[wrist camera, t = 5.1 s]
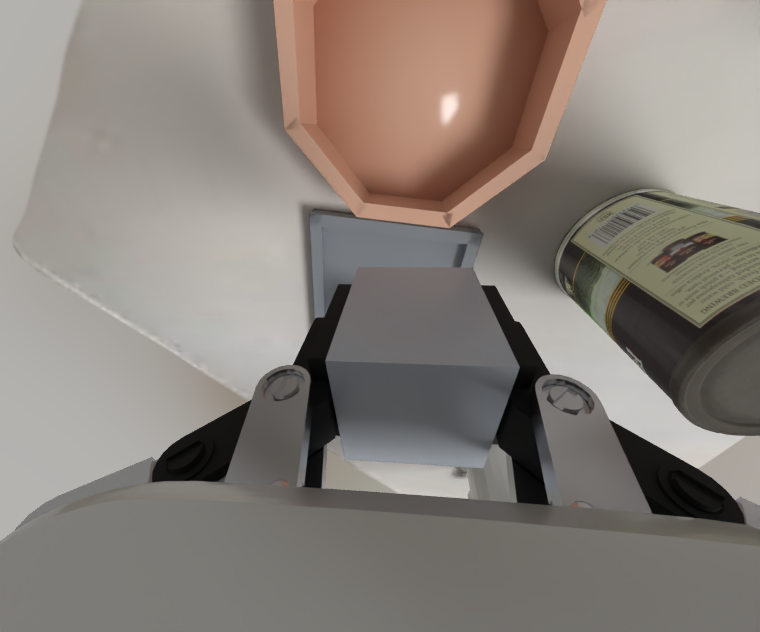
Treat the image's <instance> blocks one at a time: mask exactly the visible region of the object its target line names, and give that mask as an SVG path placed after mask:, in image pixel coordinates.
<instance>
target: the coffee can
mask: <svg viewBox="0 0 760 632" xmlns="http://www.w3.org/2000/svg"><path fill="white" fill-rule="evenodd" d="M555 277H556V281H557V283H558V285H559V287H560V288H561V289H562V291H563V292H564V293H565V294H567V295H568V296H569V297H571V298H572V299H573V300H574V301H575V302H576V303H577V304H578V305H579V306H580V307H581V308H582V309H583V310H584V311H585V312H586V313H587V314H588V315H589V316H590V317H591V318H592V319H593V320H594V321H595V322H596V323H597V324H598V325H599V326H600V327H601V328H602V329H603V330H604V331H605V332H606V333H607V334H608V335H609V336H610V337H611V338H612V339H613V340H614V341H615V342H616V343H617V344H618V345H619V346H620V348H621V349H622V350H623V351H624V352H625V353H626V354H627V355H628V356H629V357H630V358H631V359H632V360H633V361H634V362H635V363H636V364H637V365H638V366H639V367H640V368H641V369H642V370H643V371H644V372H645V373H646V374H647V375H648V376H649V377H650V378H651V379H652V380H653V381H654V382H655V383H656V384H657V385H658V386H659V387H660V388H661V389H662V390H663V391H664V392H665V393H666V394H667V395H668V396H669V397H670V398H671V399H672V401H673V403H674V405H675V406H676V408H677V409H678V410H679V411H680V412H681V414H682V415H683V416H684V417H685V418H686V419H687V420H689V421H690V422H691V423H693V424H694V425H696V426H698V427H701V428H703V429H706V430H709V431H712V432H716V433H723V434H728V435H739V436H760V213H757V212H753V211H748V210H743V209H739V208H735V207H730V206H726V205H721V204H717V203H713V202H708V201H704V200H699V199H695V198H691V197H686V196H682V195H678V194H676V193H674V192H671V191H668V190H661V189H640V190H634V191H630V192H627V193H624V194H621V195H618V196H616V197H613V198H611V199H609V200H607V201H605V202H604V203H602V204H600V205H599V206H597V207H595V208H594V209H593V210H591V211H590V212H589V213H587V214H586V215H585V216H584V217H583V218H581V219H580V220H579V221H578V222H577V223H576V224H575V225H574V227H573V228H572V229H571V230H570V232H569V233H568V234H567V235H566V237H565V238H564V240H563V242H562V244H561V246H560V248H559V250H558V253H557V256H556V260H555Z"/></svg>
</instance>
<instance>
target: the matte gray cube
mask: <svg viewBox="0 0 760 632" xmlns="http://www.w3.org/2000/svg"><path fill="white" fill-rule="evenodd" d="M325 362H326V367H327V372H328V377H329V382H330V387H331V392H332V397H333V402H334V407H335V412H336V418H337V423H338V428H339V433H340V438H341V443H342V448H343V453H344V458H345V459H347V460H362V461H378V462H393V463H409V464H424V465H440V466H455V467H471V468H484V465H485V462H486V460H487V457H488V454H489V451H490V449H491V446H492V443H493V440H494V437H495V435H496V432H497V429H498V426H499V424H500V421H501V418H502V415H503V413H504V410H505V407H506V404H507V402H508V399H509V396H510V393H511V390H512V388H513V385H514V382H515V379H516V377H517V374H518V371H519V368H520V367H519V365H518V363H517V360H516V358H515V356H514V354H513V352H512V350H511V348H510V346H509V344H508V342H507V339H506V337H505V335H504V333H503V331H502V329H501V327H500V325H499V323H498V320H497V318H496V316H495V314H494V312H493V310H492V308H491V306H490V304H489V302H488V299H487V297H486V295H485V293H484V291H483V289H482V287H481V285H480V283H479V280H478V278H477V276H476V274H475V272H474V270H473V268H461V267H358V269H357V272H356V274H355V277H354V280H353V283H352V286H351V289H350V292H349V294H348V297H347V300H346V303H345V306H344V309H343V312H342V314H341V317H340V320H339V323H338V326H337V329H336V332H335V334H334V337H333V340H332V343H331V346H330V349H329V352H328V354H327V357H326V360H325Z"/></svg>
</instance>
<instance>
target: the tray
mask: <svg viewBox="0 0 760 632" xmlns="http://www.w3.org/2000/svg"><path fill="white" fill-rule="evenodd" d="M309 216H310V236H311V255H312V275H313V294H314V314H315V318H317V317H324V316H325V314H326V312H327V310H328V307H329V305H330V303H331V300H332V298H333V296H334V293H335V291H336V289H337V286H338V284H352V283H353V280H354V277H355V274H356V272H357V269H358V267H461V268H473V265H474V262H475V259H476V255H477V252H478V249H479V246H480V243H481V239H482V236H483V233H482V232H481V231H480V229H474V228H466V227H458V226H452V227H451V228H444V227H436V226H427V225H419V224H411V223H403V222H394V221H386V220H378V219H370V218H361V217H356V215H355V214H350V213H342V212H334V211H325V210H317V209H314V210H313V211H311V212H310V213H309Z"/></svg>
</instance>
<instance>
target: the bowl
mask: <svg viewBox="0 0 760 632" xmlns="http://www.w3.org/2000/svg"><path fill="white" fill-rule="evenodd" d="M606 1H607V0H273V3H274V14H275V26H276V37H277V49H278V60H279V72H280V83H281V95H282V106H283V118H284V129H285V131H286V132H287V133H288V134H289V136H290V137H291V138H292V139H293V140H294V142H295V143H296V144H297V145H298V146H299V148H300V149H301V150H302V151H303V152H304V154H305V155H306V156H307V157H308V159H309V160H310V161H311V162H312V163H313V165H314V166H315V167H316V168H317V169H318V171H319V172H320V173H321V174H322V176H323V177H324V178H325V179H326V180H327V182H328V183H329V184H330V185H331V186H332V188H333V189H334V190H335V191H336V192H337V194H338V195H339V196H340V197H341V199H342V200H343V201H344V202H345V203H346V205H347V206H348V207H349V208H350V209H351V211H352V212H353V213H354V214H355V215H356V217H361V218H370V219H378V220H386V221H394V222H403V223H411V224H419V225H427V226H436V227H444V228H451V227H452V226H453V225H455V224H456V223H458V222H459V221H460V220H462V219H463V218H465V217H466V216H467V215H469V214H470V213H472V212H473V211H474V210H476V209H477V208H479V207H480V206H481V205H483V204H484V203H486V202H487V201H488V200H490V199H491V198H493V197H494V196H495V195H497V194H498V193H500V192H501V191H502V190H504V189H505V188H507V187H508V186H509V185H511V184H512V183H514V182H515V181H516V180H518V179H519V178H521V177H522V176H523V175H525V174H526V173H528V172H529V171H530V170H532V169H533V168H535V167H536V166H537V165H539V164H540V163H542V162H543V161H545V160H546V157H547V154H548V152H549V149H550V147H551V144H552V141H553V139H554V136H555V134H556V131H557V128H558V126H559V123H560V121H561V118H562V115H563V113H564V110H565V108H566V105H567V102H568V100H569V97H570V95H571V92H572V89H573V87H574V84H575V82H576V79H577V76H578V74H579V71H580V69H581V66H582V63H583V61H584V58H585V56H586V53H587V50H588V48H589V45H590V43H591V40H592V37H593V35H594V32H595V30H596V27H597V25H598V22H599V19H600V17H601V14H602V12H603V9H604V6H605V4H606Z"/></svg>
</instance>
